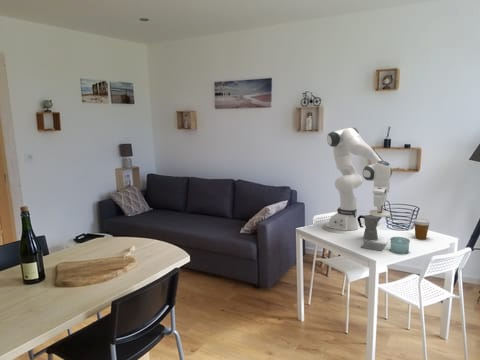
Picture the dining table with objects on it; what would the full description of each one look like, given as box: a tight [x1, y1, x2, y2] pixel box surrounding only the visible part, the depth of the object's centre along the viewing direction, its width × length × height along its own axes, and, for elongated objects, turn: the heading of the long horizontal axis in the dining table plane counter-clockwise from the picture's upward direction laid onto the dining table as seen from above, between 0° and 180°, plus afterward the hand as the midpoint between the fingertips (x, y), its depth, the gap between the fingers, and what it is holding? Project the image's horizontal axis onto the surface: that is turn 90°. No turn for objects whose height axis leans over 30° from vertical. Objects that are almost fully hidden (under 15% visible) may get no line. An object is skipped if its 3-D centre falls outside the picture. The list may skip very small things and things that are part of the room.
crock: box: [389, 236, 411, 255], centre depth 211 cm, size 11×11×7 cm
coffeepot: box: [356, 214, 383, 241], centre depth 233 cm, size 15×9×18 cm, turn 80°
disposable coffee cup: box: [413, 218, 431, 241], centre depth 232 cm, size 10×10×12 cm
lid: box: [369, 205, 391, 218], centre depth 215 cm, size 12×12×5 cm
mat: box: [360, 240, 386, 252], centre depth 220 cm, size 12×12×1 cm
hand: (379, 210), depth 215 cm, fingers closed on lid, 3 cm apart
